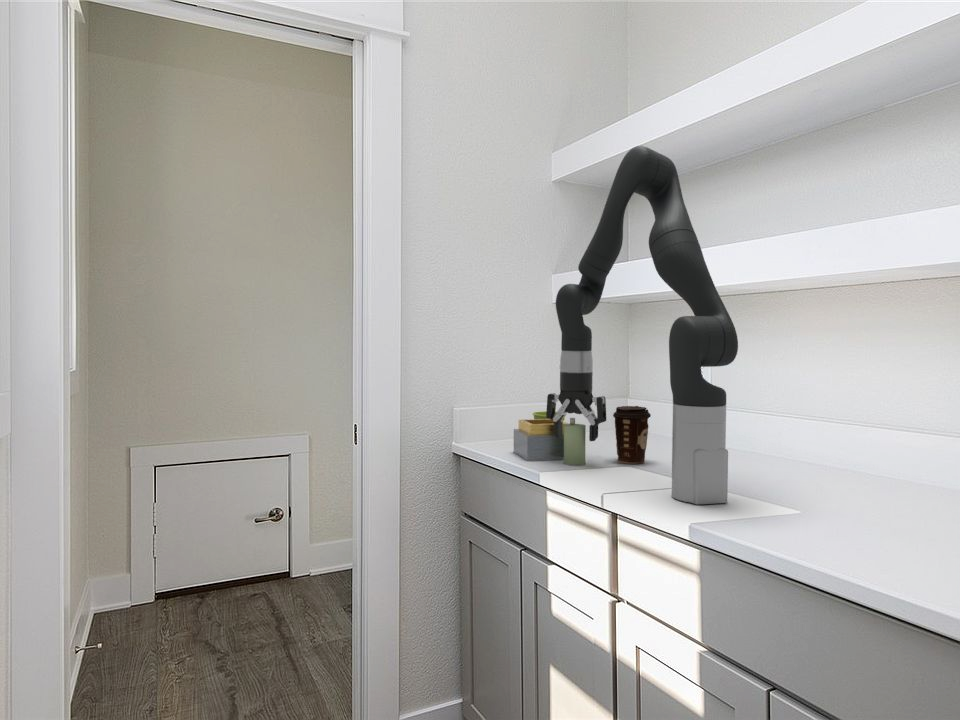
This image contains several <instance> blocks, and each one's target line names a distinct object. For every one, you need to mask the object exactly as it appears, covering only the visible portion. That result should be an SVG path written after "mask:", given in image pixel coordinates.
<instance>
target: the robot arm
mask: <svg viewBox="0 0 960 720" xmlns="http://www.w3.org/2000/svg"><path fill="white" fill-rule="evenodd" d="M680 182H681V181H680V178H679V174H678V171H677V167H676V165H675V163H674V162H673V161H672V159H671V158H669V157H668V156H667V155H664V154H662V153H659V152H658V151H655V150H654V149H651V148H649V147H647V146H644V145H637V146H634V147H632V148H631V149H629V150H628V152H627V153H626V154H625V155H624V157H623V158H622V160H621V162H620V164H619V166H618V168H617V171H616V174H615V176H614V179H613V181H612V184H611V187H610V190H609V193H608V195H607V199H606V201H605V205H604V208H603V211H602V213H601V216H600V219H599V222H598V225H597V227H596V230H595V231H594V234H593V235H592V238H591V240H590V242H589V243H588V245H587V248H586V250H585V251H584V253H583V256H582V257H581V259H580V261H579V263H578V265H577V266H578V268H577V269H578V272H579V273H580V275H581V278H580V281H579V283H578V284H576V283H567V284H564V285H562V286H561V287H560V288H559V290H558V291H557V294H556V298H555V309H556V316H557V319H558V325H559V328H560V331H561V343H560V344H561V345H560V346H561V348H560V349H561V352H560V353H561V354H560V359H559V394H558V393H557V394H556V393H553V392H550V393H548V394H547V397H546V399H547V400H546V417H547V418H548V419H551V420H553V421H554V435H556V438H561V437H562V429H563V422H564V421H563V422H561V420H562V419H563V417H564V416H565V415H566V416H567V414H576V415H583V416H584V418H586V420H587V421H588V423H589V424H590V425H589V437H588V438H589V439H588V441H589V442H594V441H595V442H596V439H598V437H599V425H600V424H602V423H605V422H606V421H607V401H606V396H603V395H602V396H594V395H593V374H594V373H593V372H594V371H593V364H594V363H593V354H592V353H593V351H592V350H593V349H592V348H593V347H592V344H593V341H592V340H593V339H592V338H593V337H592V335H593V333H592V329H591V327H589V326H588V325H586V324H585V322H584V321H585V320H584V317H583V316H585V315H589V314H591V313H592V312H594V311H595V309H596V308H597V307H598V305H599V304H600V301H601V299H602V296H603V292H604V288H605V286H606V285H605V284H606V280H607V278H608V277H607V276H609V273H610V272H611V270H612V268H613V267H614V265H615V263H616V261H617V259H618V257H619V255H620V253H621V249H622V247H623V240H624V220H625V213H626V209H627V206H628V204H629V203H630V200H631V198H632V196H633V195H634V193H635V194H637V195H638V196H642V197H644V198H645V199H646V200H647V201H648V202H649V204H650V207H651V209H652V212H653V215H654V222H653V225H652V227H651V229H650V231H649V236H648V248H649V252H650V256H651V258H652V262H653V265H654V268H655V270H656V273H657V274H658V276H659V277H660V278H661V279H662V280H663V282H664V283H665V284H666V285H668V287H669V288H671V290H672V291H674V293H676V294H677V295H678V296H679V297H680V298H681V299H682V300H683V301H685V303H686V304H687V305H688V306H689V308H690V309H691V312H692V313H693V315H684V316H679V317H677V318H676V319H675V320H674V321H673V323H672V325H671V327H670V332H669V336H668V337H669V338H668V339H669V340H668V358H669V380H670V381H669V383H670V389H671V394H672V429H671V430H672V433H671V435H672V436H671V437H672V439H671V441H672V444H671V445H672V446H671V447H672V449H671V451H672V452H671V497H672V498H673V499H675V500H678V501H681V502H685V503H691V504H694V505H710V504H711V505H712V504H727V503H728V499H729V498H728V496H729V495H728V492H729V491H728V486H729V485H728V484H729V483H728V479H729V473H728V472H729V451H728V449H727V448H726V447H727V446H726V445H727V443H726V441H727V439H726V437H727V434H726V433H727V392H726V390H725V389H724V388H723V387H721V386H717V385H714V384H712V383H710V382H708V380H706V378H704V377H703V373H702V368H704V367H705V368H706V367H707V368H708V367H709V368H710V367H711V368H713V367H714V368H715V367H723V366H724V367H726V366H728V365H730V364H732V363H733V362H734V361H735V359H736V357H737V355H738V351H739V341H738V334H737V331H736V327H735V325H734V322H733V320H732V317H731V316H730V314H729V312H728V310H727V308H726V306H725V304H724V302H723V300H722V299H721V296H720V294H719V292H718V289H717V288H716V286H715V283H714V281H713V278H712V276H711V273H710V271H709V268H708V266H707V263H706V261H705V258H704V254H703V251H702V248H701V245H700V243H699V239H698V237H697V234H696V232H695V230H694V227H693V224H692V222H691V218H690V215H689V212H688V209H687V206H686V205H685V201H684V200H685V199H684V197H683V193H682V189H681V183H680ZM558 401H559V402H560V404H561V405H560V407H559V409H558V410H557V411H556V407H557V403H558ZM592 404H594V405H595V406H596V412H597V413H595V411H594V409H593V408H592ZM555 412H557V414H555ZM596 415H597V416H596ZM566 416H565V417H566Z"/></svg>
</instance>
